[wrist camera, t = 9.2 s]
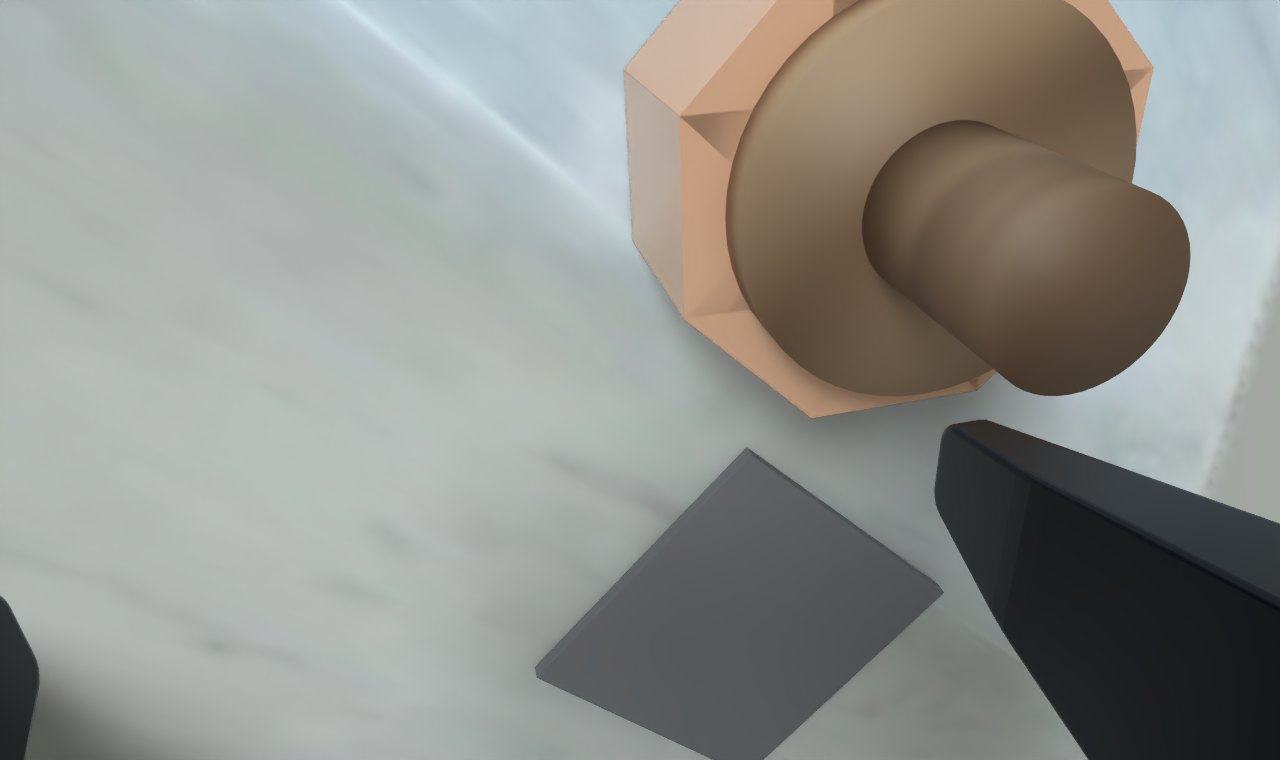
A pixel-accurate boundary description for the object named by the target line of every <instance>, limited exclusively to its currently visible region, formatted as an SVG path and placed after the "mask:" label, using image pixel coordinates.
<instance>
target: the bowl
mask: <svg viewBox="0 0 1280 760" xmlns="http://www.w3.org/2000/svg"><path fill="white" fill-rule="evenodd" d="M857 1H859V0H680V2H679V3H678V4H677V5H676V6H675V8H674V9H673V10H672V11H671V13H670V14H669V15H668V16H667V17H666V19H665V20H664V21H663V22H662V24H661V25H660V26H659V27H658V28H657V30H656V31H655V32H654V33H653V35H652V36H651V37H650V38H649V39H648V41H647V42H646V43H645V44H644V45H643V47H642V48H641V49H640V50H639V52H638V53H637V54H636V55H635V56H634V58H633V59H632V60H631V61H630V63H629V64H628V65H627V66H626V67H625V69H624V86H625V105H626V124H627V143H628V163H629V182H630V201H631V220H632V240H633V242H634V244H635V245H636V247H637V249H638V250H639V252H640V253H641V255H642V256H643V258H644V259H645V261H646V262H647V264H648V265H649V267H650V268H651V270H652V271H653V273H654V274H655V276H656V277H657V279H658V280H659V282H660V283H661V285H662V286H663V288H664V289H665V291H666V292H667V294H668V295H669V297H670V299H671V300H672V302H673V303H674V305H675V306H676V308H677V309H678V311H679V312H680V314H681V315H682V317H683V318H684V320H686V321H687V322H688V323H689V324H691V325H692V326H693V327H695V328H696V329H697V330H698V331H700V332H701V333H702V334H704V335H705V336H706V337H707V338H709V339H710V340H711V341H713V342H714V343H715V344H716V345H718V346H719V347H720V348H722V349H723V350H724V351H725V352H727V353H728V354H729V355H731V356H732V357H733V358H734V359H736V360H737V361H738V362H740V363H741V364H742V365H743V366H745V367H746V368H747V369H749V370H750V371H751V372H752V373H754V374H755V375H756V376H758V377H759V378H760V379H762V380H763V381H764V382H765V383H767V384H768V385H769V386H771V387H772V388H773V389H774V390H776V391H777V392H778V393H780V394H781V395H782V396H783V397H785V398H786V399H787V400H789V401H790V402H791V403H792V404H794V405H795V406H796V407H798V408H799V409H800V410H801V411H803V412H804V413H805V414H807V415H808V416H809V417H810V418H816V417H822V416H828V415H834V414H840V413H846V412H852V411H858V410H864V409H870V408H876V407H882V406H888V405H894V404H900V403H906V402H912V401H918V400H924V399H930V398H935V397H941V396H947V395H953V394H959V393H965V392H971V391H977V390H978V389H979V388H980V387H981V386H982V385H983V384H984V383H985V382H986V381H987V380H988V379H989V378H990V377H991V376H992V375H993V374H994V373H995V372H996V370H994V369H993V370H991V371H989V372H987V373H985V374H983V375H980V376H978V377H976V378H974V379H972V380H970V381H967V382H964V383H961V384H958V385H956V386H953V387H950V388H947V389H943V390H939V391H934V392H930V393H925V394H918V395H909V396H875V395H869V394H862V393H856V392H853V391H849V390H846V389H843V388H840V387H836V386H834V385H832V384H830V383H828V382H826V381H823V380H821V379H819V378H817V377H815V376H814V375H813V374H811V373H810V372H808V371H807V370H805V369H804V368H802V367H801V366H799V365H798V364H797V363H796V362H795V361H794V360H793V359H792V358H791V357H790V356H789V355H788V354H786V353H785V352H784V351H783V350H782V349H781V347H780V346H779V345H778V344H777V342H776V341H775V340H774V339H773V338H772V336H771V335H770V334H769V333H768V332H767V330H766V329H765V328H764V327H763V325H762V324H761V323H760V321H759V320H758V319H757V318H756V316H755V315H754V314H753V312H752V311H751V310H750V308H749V306H748V304H747V302H746V300H745V299H744V297H743V295H742V293H741V291H740V289H739V286H738V283H737V281H736V278H735V275H734V272H733V270H732V266H731V261H730V257H729V252H728V247H727V238H726V224H725V213H726V197H727V188H728V183H729V177H730V172H731V167H732V163H733V159H734V156H735V153H736V150H737V147H738V144H739V141H740V137H741V135H742V133H743V130H744V128H745V126H746V124H747V122H748V119H749V117H750V115H751V113H752V111H753V109H754V107H755V105H756V104H757V102H758V100H759V99H760V97H761V95H762V94H763V92H764V90H765V89H766V87H767V85H768V84H769V82H770V81H771V79H772V78H773V77H774V76H775V74H776V73H777V72H778V70H779V69H780V68H781V66H782V65H783V64H784V62H785V61H786V60H787V59H788V57H789V56H790V55H791V54H792V53H793V52H794V51H795V50H796V49H797V48H798V47H799V46H800V45H801V44H802V43H803V42H804V41H805V40H806V39H807V38H808V37H809V36H810V35H811V34H812V33H814V32H815V31H816V30H817V29H818V28H820V27H821V26H822V25H823V24H825V23H826V22H827V21H828V20H830V19H831V18H832V17H833V16H835V15H836V14H838V13H840V12H841V11H843V10H844V9H846V8H847V7H849V6H851V5H852V4H854V3H855V2H857ZM1064 1H1066V2H1067V3H1069V4H1071V5H1073V6H1074V7H1075V8H1076V9H1078V10H1079V11H1080V12H1081V13H1082V14H1084V15H1085V16H1086V17H1087V18H1089V19H1090V20H1091V21H1092V22H1093V23H1094V24H1095V26H1096V27H1097V28H1098V29H1099V30H1100V32H1101V33H1102V34H1103V35H1104V36H1105V37H1106V39H1107V40H1108V42H1109V43H1110V45H1111V47H1112V48H1113V50H1114V52H1115V53H1116V55H1117V57H1118V59H1119V60H1120V62H1121V65H1122V68H1123V70H1124V73H1125V75H1126V78H1127V80H1128V83H1129V87H1130V91H1131V95H1132V100H1133V104H1134V109H1135V121H1136V132H1137V138H1136V146H1137V141H1138V137H1139V132H1140V127H1141V123H1142V118H1143V114H1144V109H1145V104H1146V100H1147V95H1148V91H1149V86H1150V81H1151V77H1152V72H1153V66H1152V64H1151V63H1150V61H1149V60H1148V58H1147V57H1146V56H1145V54H1144V53H1143V51H1142V50H1141V48H1140V47H1139V45H1138V44H1137V42H1136V41H1135V39H1134V38H1133V37H1132V35H1131V34H1130V32H1129V31H1128V29H1127V28H1126V26H1125V25H1124V23H1123V22H1122V20H1121V19H1120V18H1119V16H1118V15H1117V13H1116V12H1115V10H1114V9H1113V7H1112V6H1111V4H1110V3H1109V1H1108V0H1064Z"/></svg>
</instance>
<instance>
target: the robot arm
mask: <svg viewBox="0 0 1280 760" xmlns="http://www.w3.org/2000/svg"><path fill="white" fill-rule="evenodd" d="M934 493H935V501H936V506H937V509H938V511H939V514H940V516H941V518H942V520H943V521H944V523H945V525H946V527H947V529H948V531H949V533H950V535H951V537H952V538H953V540H954V542H955V544H956V546H957V548H958V550H959V552H960V554H961V555H962V557H963V559H964V561H965V563H966V565H967V567H968V569H969V571H970V572H971V574H972V576H973V578H974V580H975V582H976V584H977V586H978V588H979V590H980V591H981V593H982V595H983V597H984V599H985V601H986V603H987V605H988V607H989V608H990V610H991V612H992V614H993V616H994V617H995V619H996V621H997V623H998V624H999V626H1000V628H1001V630H1002V631H1003V633H1004V634H1005V636H1006V637H1007V639H1008V641H1009V642H1010V644H1011V645H1012V647H1013V648H1014V650H1015V651H1016V653H1017V654H1018V656H1019V657H1020V659H1021V660H1022V662H1023V663H1024V665H1025V666H1026V668H1027V669H1028V671H1029V672H1030V674H1031V675H1032V677H1033V678H1034V680H1035V681H1036V683H1037V684H1038V686H1039V687H1040V689H1041V690H1042V691H1043V693H1044V694H1045V696H1046V697H1047V699H1048V700H1049V702H1050V703H1051V705H1052V706H1053V708H1054V709H1055V711H1056V712H1057V714H1058V715H1059V717H1060V718H1061V720H1062V721H1063V723H1064V724H1065V726H1066V727H1067V728H1068V730H1069V731H1070V733H1071V734H1072V736H1073V737H1074V739H1075V740H1076V742H1077V743H1078V745H1079V746H1080V748H1081V749H1082V751H1083V752H1084V754H1085V755H1086V757H1087V758H1088V760H1280V524H1279V523H1277V522H1274V521H1271V520H1268V519H1265V518H1262V517H1260V516H1257V515H1254V514H1251V513H1248V512H1245V511H1242V510H1240V509H1236V508H1234V507H1231V506H1228V505H1226V504H1223V503H1220V502H1217V501H1214V500H1211V499H1209V498H1206V497H1203V496H1200V495H1197V494H1194V493H1192V492H1189V491H1186V490H1183V489H1180V488H1178V487H1175V486H1172V485H1169V484H1166V483H1163V482H1161V481H1158V480H1155V479H1152V478H1149V477H1146V476H1144V475H1141V474H1138V473H1135V472H1132V471H1129V470H1127V469H1124V468H1121V467H1118V466H1115V465H1112V464H1110V463H1107V462H1104V461H1101V460H1098V459H1096V458H1093V457H1090V456H1087V455H1084V454H1081V453H1079V452H1076V451H1073V450H1070V449H1067V448H1064V447H1062V446H1059V445H1056V444H1053V443H1050V442H1047V441H1045V440H1042V439H1039V438H1036V437H1033V436H1030V435H1028V434H1025V433H1022V432H1019V431H1016V430H1014V429H1011V428H1008V427H1005V426H1002V425H999V424H997V423H994V422H991V421H988V420H975V421H970V422H964V423H958V424H953V425H950V426H949V427H947V428H946V429H945V431H944V433H943V434H942V438H941V444H940V451H939V459H938V466H937V473H936V481H935V491H934ZM38 689H39V668H38V664H37V660H36V658H35V655H34V654H33V652H32V650H31V648H30V646H29V644H28V642H27V640H26V638H25V636H24V634H23V632H22V630H21V628H20V626H19V624H18V622H17V620H16V618H15V616H14V614H13V612H12V610H11V608H10V606H9V604H8V603H7V601H6V600H5V599H4V598H3V597H2V596H0V760H25V757H26V752H27V746H28V741H29V736H30V731H31V726H32V720H33V715H34V710H35V705H36V700H37V695H38Z"/></svg>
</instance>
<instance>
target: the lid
mask: <svg viewBox="0 0 1280 760" xmlns="http://www.w3.org/2000/svg"><path fill="white" fill-rule="evenodd" d="M1136 138H1137V132H1136V121H1135V109H1134V104H1133V100H1132V95H1131V91H1130V87H1129V83H1128V80H1127V78H1126V75H1125V73H1124V70H1123V68H1122V65H1121V62H1120V60H1119V59H1118V57H1117V55H1116V53H1115V52H1114V50H1113V48H1112V47H1111V45H1110V43H1109V42H1108V40H1107V39H1106V37H1105V36H1104V35H1103V34H1102V33H1101V32H1100V30H1099V29H1098V28H1097V27H1096V26H1095V24H1094V23H1093V22H1092V21H1091V20H1090V19H1089V18H1087V17H1086V16H1085V15H1084V14H1082V13H1081V12H1080V11H1079V10H1078V9H1076V8H1075V7H1074V6H1073V5H1071V4H1069V3H1067V2H1066V1H1064V0H859V1H857V2H855V3H854V4H852V5H851V6H849V7H847V8H846V9H844V10H843V11H841V12H840V13H838V14H836V15H835V16H833V17H832V18H831V19H830V20H828V21H827V22H826V23H825V24H823V25H822V26H821V27H820V28H818V29H817V30H816V31H815V32H814V33H812V34H811V35H810V36H809V37H808V38H807V39H806V40H805V41H804V42H803V43H802V44H801V45H800V46H799V47H798V48H797V49H796V50H795V51H794V52H793V53H792V54H791V55H790V56H789V57H788V59H787V60H786V61H785V62H784V64H783V65H782V66H781V68H780V69H779V70H778V72H777V73H776V74H775V76H774V77H773V78H772V79H771V81H770V82H769V84H768V85H767V87H766V89H765V90H764V92H763V94H762V95H761V97H760V99H759V100H758V102H757V104H756V105H755V107H754V109H753V111H752V113H751V115H750V117H749V119H748V122H747V124H746V126H745V128H744V130H743V133H742V135H741V137H740V141H739V144H738V147H737V150H736V153H735V156H734V159H733V163H732V167H731V172H730V177H729V183H728V188H727V197H726V213H725V224H726V238H727V247H728V252H729V257H730V261H731V266H732V270H733V272H734V275H735V278H736V281H737V283H738V286H739V289H740V291H741V293H742V295H743V297H744V299H745V300H746V302H747V304H748V306H749V308H750V310H751V311H752V312H753V314H754V315H755V316H756V318H757V319H758V320H759V321H760V323H761V324H762V325H763V327H764V328H765V329H766V330H767V332H768V333H769V334H770V335H771V336H772V338H773V339H774V340H775V341H776V342H777V344H778V345H779V346H780V347H781V349H782V350H783V351H784V352H785V353H786V354H788V355H789V356H790V357H791V358H792V359H793V360H794V361H795V362H796V363H797V364H798V365H799V366H801V367H802V368H804V369H805V370H807V371H808V372H810V373H811V374H813V375H814V376H815V377H817V378H819V379H821V380H823V381H826V382H828V383H830V384H832V385H834V386H836V387H840V388H843V389H846V390H849V391H853V392H856V393H862V394H869V395H875V396H909V395H918V394H925V393H930V392H934V391H939V390H943V389H947V388H950V387H953V386H956V385H958V384H961V383H964V382H967V381H970V380H972V379H974V378H976V377H978V376H980V375H983V374H985V373H987V372H989V371H991V370H993V369H994V370H996V371H997V372H998V373H999V374H1000V375H1002V376H1003V377H1004V378H1005V379H1007V380H1008V381H1009V382H1010V383H1012V384H1013V385H1014V386H1016V387H1018V388H1020V389H1022V390H1024V391H1027V392H1030V393H1033V394H1038V395H1044V396H1061V395H1069V394H1074V393H1078V392H1082V391H1085V390H1087V389H1090V388H1093V387H1095V386H1098V385H1100V384H1102V383H1104V382H1106V381H1108V380H1110V379H1111V378H1113V377H1115V376H1116V375H1118V374H1119V373H1121V372H1122V371H1124V370H1125V369H1126V368H1128V367H1129V366H1130V365H1132V364H1133V363H1134V362H1135V361H1136V360H1137V359H1139V358H1140V357H1141V356H1142V355H1143V354H1144V353H1145V352H1146V351H1147V350H1148V349H1149V348H1150V347H1151V346H1152V345H1153V343H1154V342H1155V341H1156V340H1157V338H1158V337H1159V336H1160V335H1161V333H1162V332H1163V331H1164V329H1165V328H1166V326H1167V325H1168V323H1169V322H1170V320H1171V318H1172V316H1173V314H1174V313H1175V311H1176V309H1177V307H1178V305H1179V302H1180V300H1181V298H1182V295H1183V292H1184V289H1185V286H1186V283H1187V278H1188V273H1189V267H1190V243H1189V238H1188V233H1187V230H1186V227H1185V225H1184V222H1183V220H1182V219H1181V217H1180V215H1179V214H1178V212H1177V211H1176V210H1175V209H1174V207H1173V206H1172V205H1171V204H1170V203H1169V202H1167V201H1166V200H1165V199H1163V198H1162V197H1161V196H1159V195H1157V194H1155V193H1152V192H1150V191H1148V190H1146V189H1143V188H1141V187H1138V186H1136V185H1134V184H1132V179H1133V173H1134V167H1135V161H1136Z"/></svg>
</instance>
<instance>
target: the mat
mask: <svg viewBox="0 0 1280 760" xmlns="http://www.w3.org/2000/svg"><path fill="white" fill-rule="evenodd" d="M943 593H944V592H943V591H942V589H941V588H940V587H939V586H938V584H937V583H935V582H934V581H932V580H931V579H930V578H928V577H927V576H925V575H924V574H923V573H921V572H920V571H918V570H917V569H916V568H914V567H913V566H911V565H910V564H909V563H907V562H906V561H904V560H903V559H902V558H900V557H899V556H897V555H896V554H895V553H893V552H892V551H891V550H889V549H888V548H886V547H885V546H884V545H882V544H881V543H879V542H878V541H877V540H875V539H874V538H872V537H871V536H870V535H868V534H867V533H865V532H864V531H863V530H861V529H860V528H858V527H857V526H856V525H854V524H853V523H851V522H850V521H849V520H847V519H846V518H844V517H843V516H842V515H840V514H839V513H837V512H836V511H835V510H833V509H832V508H830V507H829V506H828V505H826V504H825V503H823V502H822V501H821V500H819V499H818V498H816V497H815V496H814V495H812V494H811V493H810V492H808V491H807V490H805V489H804V488H803V487H801V486H800V485H798V484H797V483H796V482H794V481H793V480H791V479H790V478H789V477H787V476H786V475H784V474H783V473H782V472H780V471H779V470H777V469H776V468H775V467H773V466H772V465H770V464H769V463H768V462H766V461H765V460H763V459H762V458H761V457H759V456H758V455H756V454H755V453H754V452H752V451H751V450H749V449H748V448H746V449H745V450H744V451H743V452H742V453H741V454H740V455H739V456H738V457H737V458H736V459H735V460H734V461H733V462H732V463H731V464H730V466H729V467H728V468H727V469H726V470H725V471H724V472H723V473H722V474H721V475H720V476H719V477H718V478H717V479H716V480H715V481H714V482H713V483H712V484H711V485H710V486H709V487H708V488H707V489H706V490H705V491H704V493H703V494H702V495H701V496H700V497H699V498H698V499H697V500H696V501H695V502H694V503H693V504H692V505H691V506H690V507H689V508H688V509H687V510H686V511H685V512H684V513H683V514H682V515H681V516H680V517H679V518H678V520H677V521H676V522H675V523H674V524H673V525H672V526H671V527H670V528H669V529H668V530H667V531H666V532H665V533H664V534H663V535H662V536H661V537H660V538H659V539H658V540H657V541H656V542H655V543H654V544H653V545H652V547H651V548H650V549H649V550H648V551H647V552H646V553H645V554H644V555H643V556H642V557H641V558H640V559H639V560H638V561H637V562H636V563H635V564H634V565H633V566H632V567H631V568H630V569H629V570H628V571H627V573H626V574H625V575H624V576H623V577H622V578H621V579H620V580H619V581H618V582H617V583H616V584H615V585H614V586H613V587H612V588H611V589H610V590H609V591H608V592H607V593H606V594H605V595H604V596H603V597H602V598H601V600H600V601H599V602H598V603H597V604H596V605H595V606H594V607H593V608H592V609H591V610H590V611H589V612H588V613H587V614H586V615H585V616H584V617H583V618H582V619H581V620H580V621H579V622H578V623H577V624H576V625H575V627H574V628H573V629H572V630H571V631H570V632H569V633H568V634H567V635H566V636H565V637H564V638H563V639H562V640H561V641H560V642H559V643H558V644H557V645H556V646H555V647H554V648H553V649H552V650H551V651H550V652H549V654H548V655H547V656H546V657H545V658H544V659H543V660H542V661H541V662H540V663H539V664H538V665H537V666H536V667H535V669H536V675H537V678H539V679H541V680H543V681H545V682H547V683H550V684H552V685H554V686H556V687H558V688H560V689H562V690H565V691H567V692H569V693H571V694H573V695H575V696H578V697H580V698H582V699H584V700H586V701H588V702H590V703H593V704H595V705H597V706H599V707H601V708H603V709H605V710H608V711H610V712H612V713H614V714H616V715H618V716H621V717H623V718H625V719H627V720H629V721H631V722H633V723H636V724H638V725H640V726H642V727H644V728H646V729H648V730H651V731H653V732H655V733H657V734H659V735H661V736H663V737H666V738H668V739H670V740H672V741H674V742H676V743H679V744H681V745H683V746H685V747H687V748H689V749H691V750H694V751H696V752H698V753H700V754H702V755H704V756H706V757H709V758H711V759H713V760H763V759H764V758H766V757H767V756H768V755H769V754H770V753H771V752H772V751H773V750H774V749H775V748H776V747H777V746H779V745H780V744H781V743H782V742H783V741H784V740H785V739H786V738H787V737H788V736H789V735H790V734H792V733H793V732H794V731H795V730H796V729H797V728H798V727H799V726H800V725H801V724H802V723H803V722H804V721H806V720H807V719H808V718H809V717H810V716H811V715H812V714H813V713H814V712H815V711H816V710H817V709H819V708H820V707H821V706H822V705H823V704H824V703H825V702H826V701H827V700H828V699H829V698H830V697H831V696H833V695H834V694H835V693H836V692H837V691H838V690H839V689H840V688H841V687H842V686H843V685H844V684H846V683H847V682H848V681H849V680H850V679H851V678H852V677H853V676H854V675H855V674H856V673H857V672H858V671H860V670H861V669H862V668H863V667H864V666H865V665H866V664H867V663H868V662H869V661H870V660H871V659H873V658H874V657H875V656H876V655H877V654H878V653H879V652H880V651H881V650H882V649H883V648H884V647H885V646H887V645H888V644H889V643H890V642H891V641H892V640H893V639H894V638H895V637H896V636H897V635H898V634H900V633H901V632H902V631H903V630H904V629H905V628H906V627H907V626H908V625H909V624H910V623H911V622H913V621H914V620H915V619H916V618H917V617H918V616H919V615H920V614H921V613H922V612H923V611H924V610H925V609H927V608H928V607H929V606H930V605H931V604H932V603H933V602H934V601H935V600H936V599H937V598H938V597H940V596H941V595H942V594H943Z"/></svg>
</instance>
